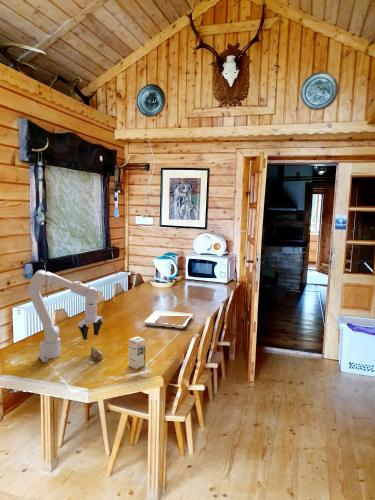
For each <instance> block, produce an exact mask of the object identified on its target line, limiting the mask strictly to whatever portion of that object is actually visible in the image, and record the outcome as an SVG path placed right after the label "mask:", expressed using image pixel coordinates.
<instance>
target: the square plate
mask: <svg viewBox="0 0 375 500" xmlns="http://www.w3.org/2000/svg"><path fill="white" fill-rule="evenodd" d="M160 315H161V316H190V317H189V318H188V319H187V320H186V322H185V323H184V324H183V326H182V325H175V324H168V323H155V321H156V320H157V319H158V318H159V316H160ZM193 315H194V314H193V313H189V312H188V313H187V312H180V311H171V310H155V311H154V312H152V313H151V315H150V316H148V317H147V318H146V319H145V320H144V322H143V323H144V324H145V325H147V326H152V327H153V326H154V327H161V326H165V327H164V328H171V327H175V328H174V329H184V327H186V326H187V325H188V322H190V321H189V320H190V319H191V318H192V317H193Z"/></svg>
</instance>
